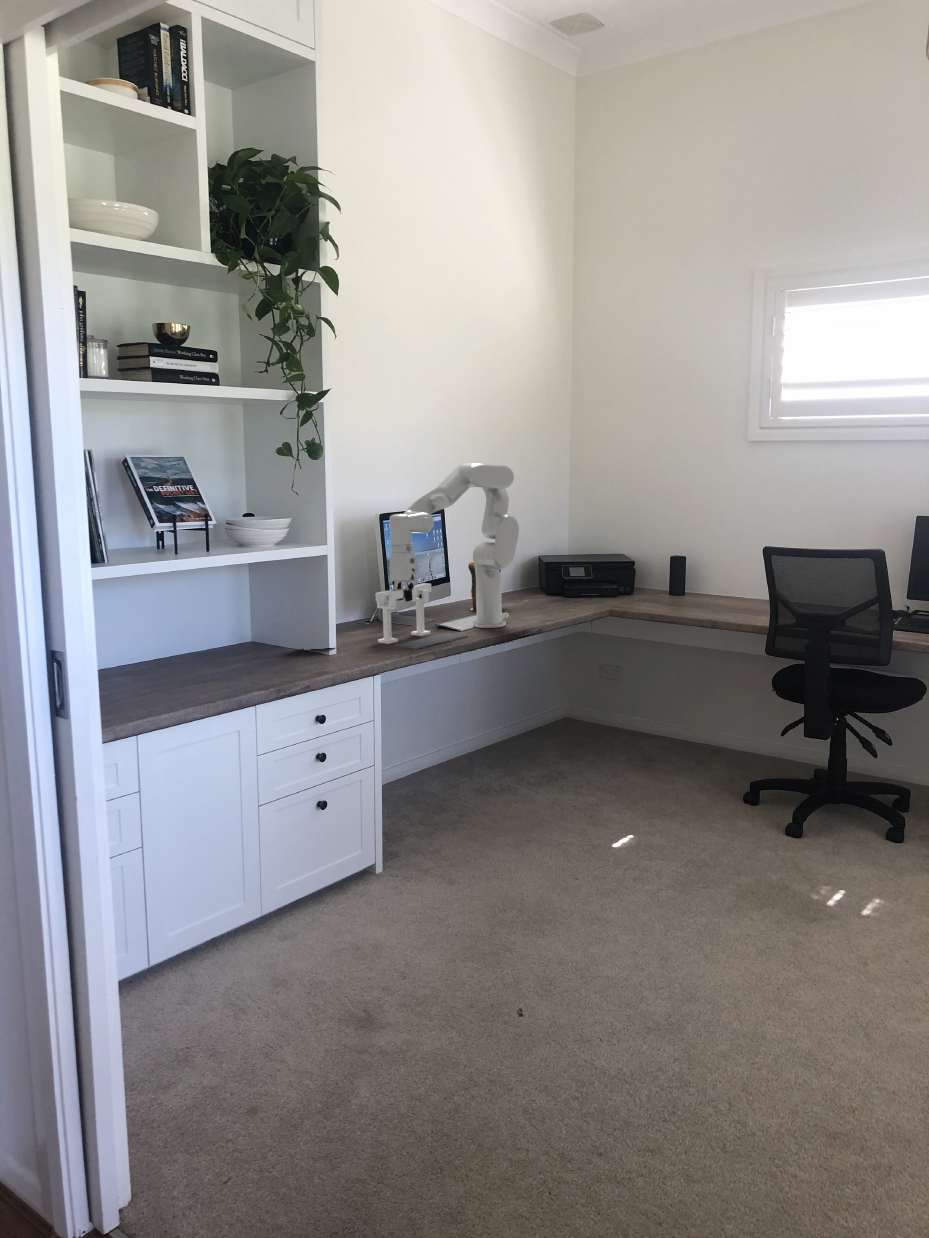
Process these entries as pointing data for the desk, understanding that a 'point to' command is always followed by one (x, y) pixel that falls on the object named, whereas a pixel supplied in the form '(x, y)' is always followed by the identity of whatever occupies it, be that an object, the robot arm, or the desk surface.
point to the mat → (430, 641)
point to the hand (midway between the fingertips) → (404, 600)
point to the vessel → (474, 584)
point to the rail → (401, 592)
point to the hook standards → (392, 605)
